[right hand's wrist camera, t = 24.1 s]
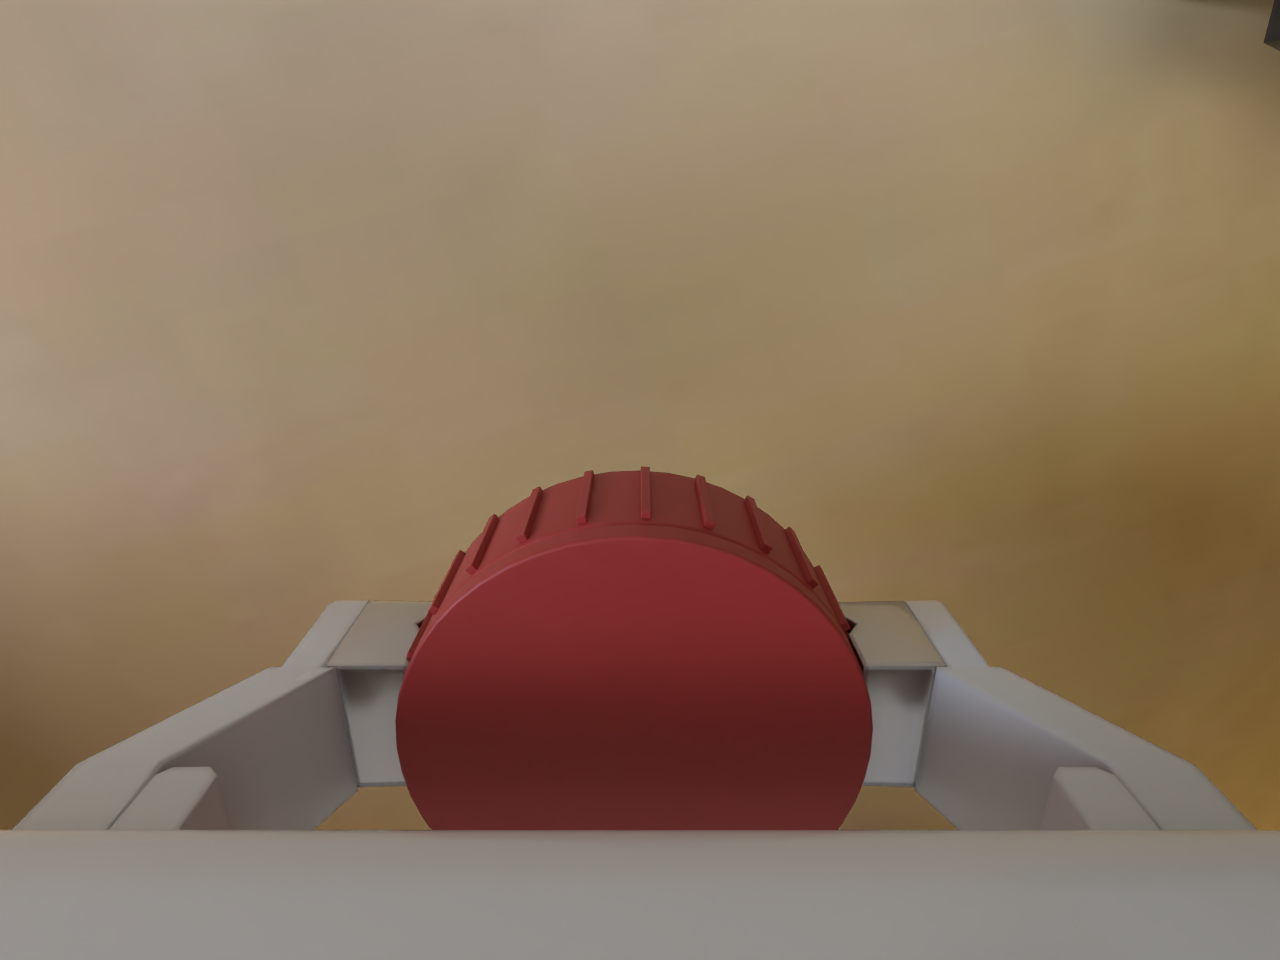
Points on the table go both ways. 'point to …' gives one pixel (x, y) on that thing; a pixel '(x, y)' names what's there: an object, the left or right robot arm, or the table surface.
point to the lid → (634, 670)
